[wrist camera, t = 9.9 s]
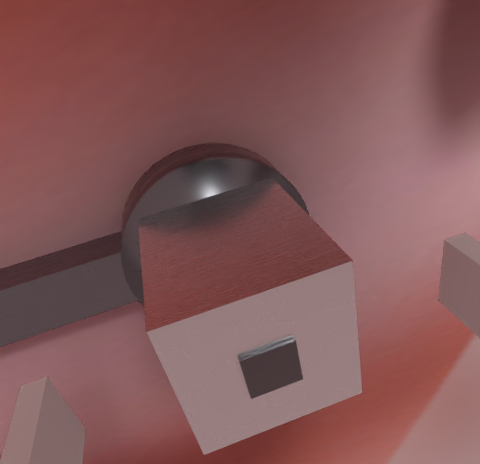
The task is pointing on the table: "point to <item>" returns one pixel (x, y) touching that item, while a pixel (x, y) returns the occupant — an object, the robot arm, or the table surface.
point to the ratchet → (121, 243)
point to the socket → (249, 311)
